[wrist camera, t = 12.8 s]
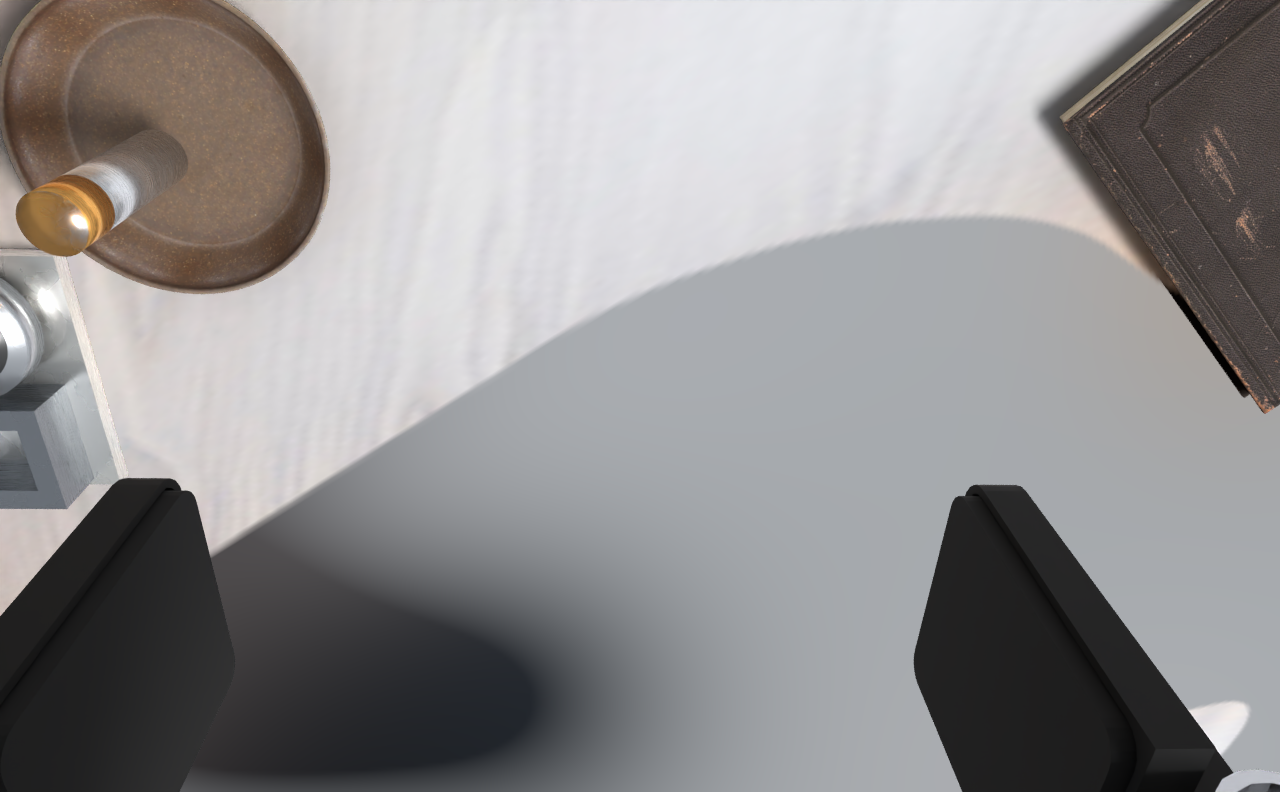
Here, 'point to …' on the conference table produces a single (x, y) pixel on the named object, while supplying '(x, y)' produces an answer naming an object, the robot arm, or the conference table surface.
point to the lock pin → (100, 193)
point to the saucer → (173, 132)
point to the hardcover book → (1203, 174)
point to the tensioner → (49, 389)
